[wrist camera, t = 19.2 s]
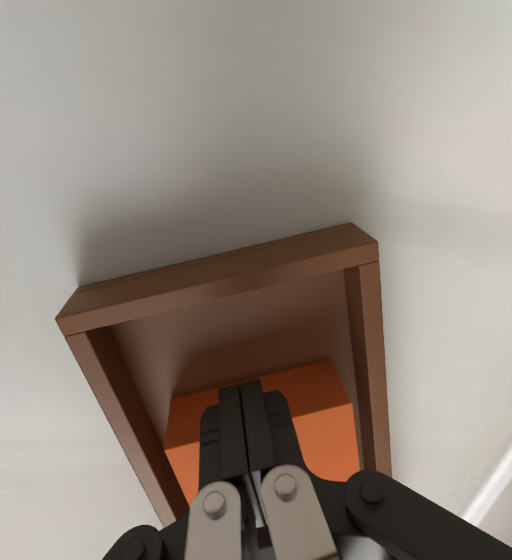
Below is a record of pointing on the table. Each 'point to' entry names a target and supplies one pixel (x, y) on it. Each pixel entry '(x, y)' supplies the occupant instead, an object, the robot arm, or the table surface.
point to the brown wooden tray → (232, 339)
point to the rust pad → (305, 414)
